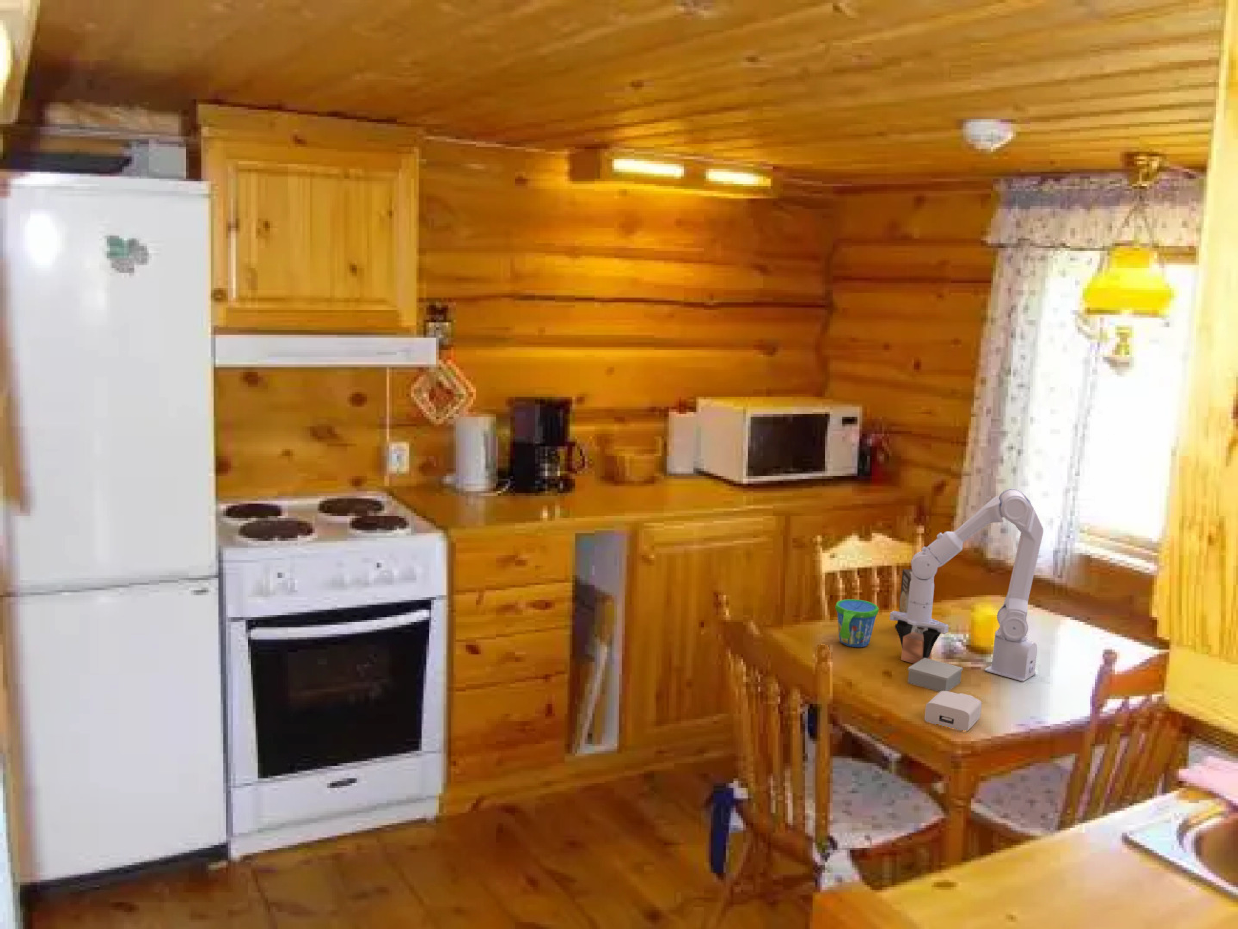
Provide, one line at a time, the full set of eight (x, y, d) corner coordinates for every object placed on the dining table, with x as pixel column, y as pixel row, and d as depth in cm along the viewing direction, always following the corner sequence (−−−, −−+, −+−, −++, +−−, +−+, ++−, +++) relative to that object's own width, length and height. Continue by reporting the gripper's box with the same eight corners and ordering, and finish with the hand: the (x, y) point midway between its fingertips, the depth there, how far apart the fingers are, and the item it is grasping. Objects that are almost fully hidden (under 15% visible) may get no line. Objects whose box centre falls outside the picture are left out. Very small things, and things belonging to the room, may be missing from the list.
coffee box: (896, 626, 299) (901, 568, 296) (920, 627, 299) (925, 569, 296) (904, 637, 290) (909, 578, 287) (929, 638, 290) (934, 579, 287)
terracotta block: (929, 660, 272) (931, 637, 271) (919, 665, 269) (922, 641, 268) (910, 655, 276) (912, 632, 275) (901, 659, 272) (903, 636, 271)
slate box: (961, 684, 259) (962, 667, 259) (945, 695, 252) (947, 678, 251) (923, 673, 265) (924, 657, 264) (906, 684, 258) (908, 667, 257)
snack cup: (859, 656, 274) (862, 616, 272) (821, 646, 281) (823, 607, 279) (886, 641, 286) (889, 603, 284) (849, 631, 293) (852, 594, 291)
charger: (988, 711, 243) (967, 734, 231) (946, 701, 248) (924, 722, 236) (990, 691, 242) (969, 712, 230) (948, 681, 247) (926, 701, 235)
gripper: (885, 597, 271) (881, 650, 274) (940, 611, 262) (935, 666, 264) (899, 592, 277) (895, 644, 279) (954, 605, 267) (949, 659, 270)
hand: (915, 654), depth 272 cm, fingers closed on terracotta block, 5 cm apart
